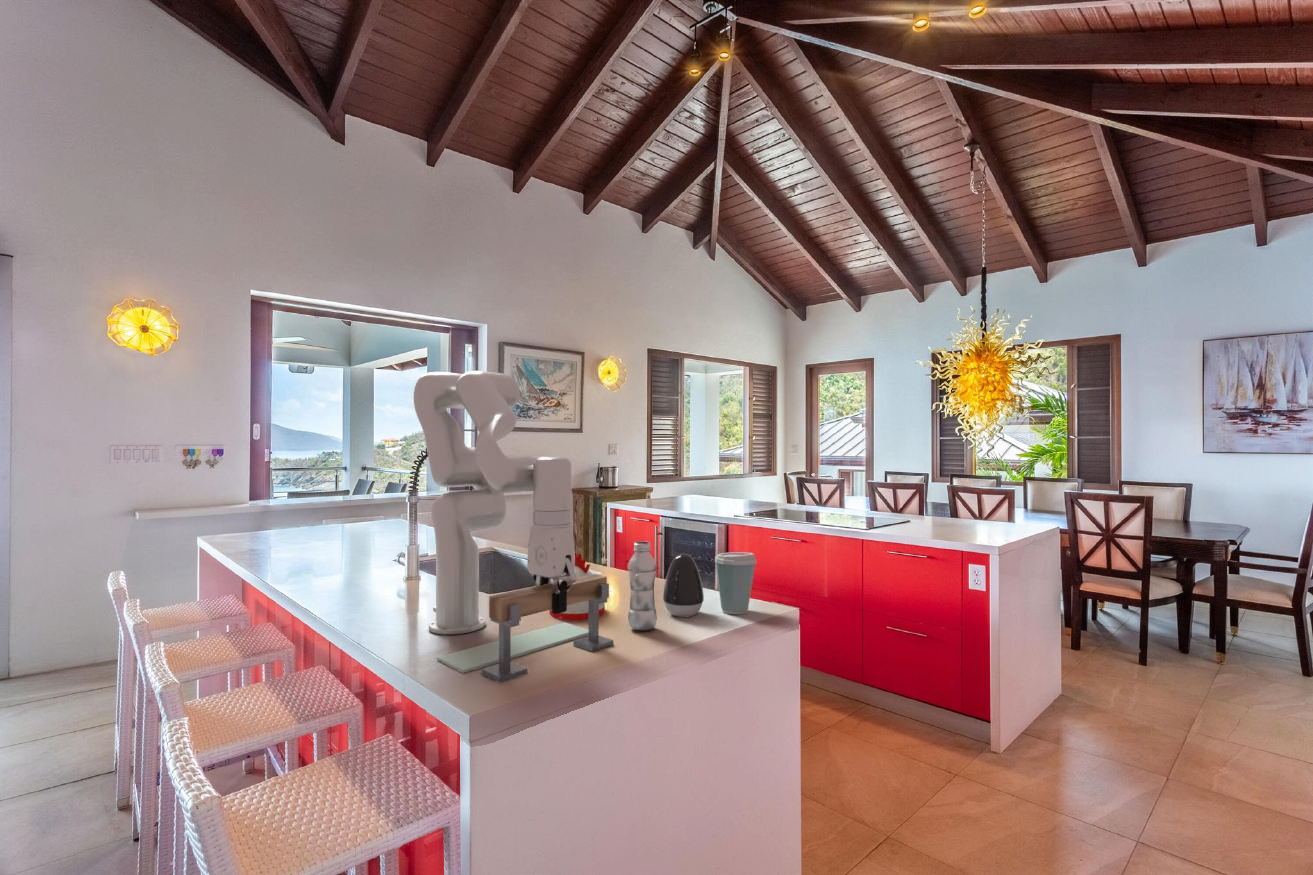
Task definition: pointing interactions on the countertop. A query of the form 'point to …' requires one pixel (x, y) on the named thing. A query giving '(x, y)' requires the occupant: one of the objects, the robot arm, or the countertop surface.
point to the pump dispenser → (683, 587)
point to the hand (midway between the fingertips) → (551, 609)
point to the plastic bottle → (642, 588)
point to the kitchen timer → (582, 608)
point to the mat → (513, 647)
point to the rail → (543, 597)
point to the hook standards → (506, 667)
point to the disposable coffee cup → (735, 580)
